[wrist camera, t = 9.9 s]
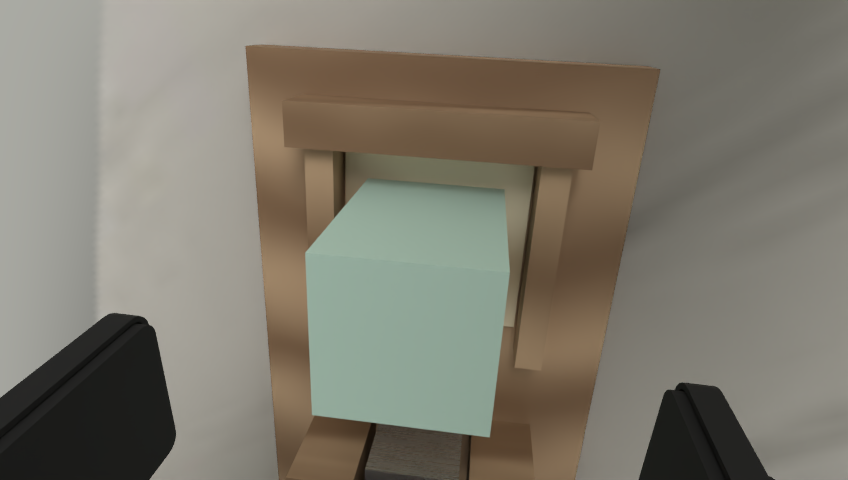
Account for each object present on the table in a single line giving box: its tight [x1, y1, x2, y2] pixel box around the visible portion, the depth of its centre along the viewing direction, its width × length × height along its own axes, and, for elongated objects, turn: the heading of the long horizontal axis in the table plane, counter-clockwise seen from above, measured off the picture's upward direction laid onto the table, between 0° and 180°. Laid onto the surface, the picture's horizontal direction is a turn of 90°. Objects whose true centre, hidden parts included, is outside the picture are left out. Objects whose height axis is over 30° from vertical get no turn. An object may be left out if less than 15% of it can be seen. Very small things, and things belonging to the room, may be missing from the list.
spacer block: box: [305, 178, 510, 437], centre depth 17 cm, size 5×5×7 cm
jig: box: [246, 45, 660, 480], centre depth 21 cm, size 26×14×7 cm, turn 177°
